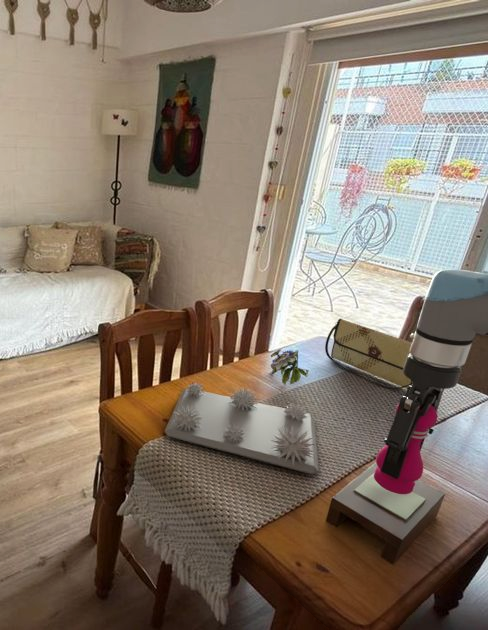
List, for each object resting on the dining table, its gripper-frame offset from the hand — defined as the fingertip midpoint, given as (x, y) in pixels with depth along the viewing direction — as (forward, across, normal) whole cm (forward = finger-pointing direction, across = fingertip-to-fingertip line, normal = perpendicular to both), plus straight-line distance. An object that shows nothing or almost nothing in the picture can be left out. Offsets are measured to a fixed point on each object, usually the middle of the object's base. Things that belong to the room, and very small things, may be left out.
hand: (398, 466), depth 84 cm
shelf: (+13, 0, 0) cm, 13 cm away
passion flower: (+13, -39, -44) cm, 60 cm away
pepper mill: (+4, 0, 0) cm, 4 cm away
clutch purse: (+13, -62, -30) cm, 70 cm away
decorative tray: (+13, -1, -34) cm, 36 cm away
